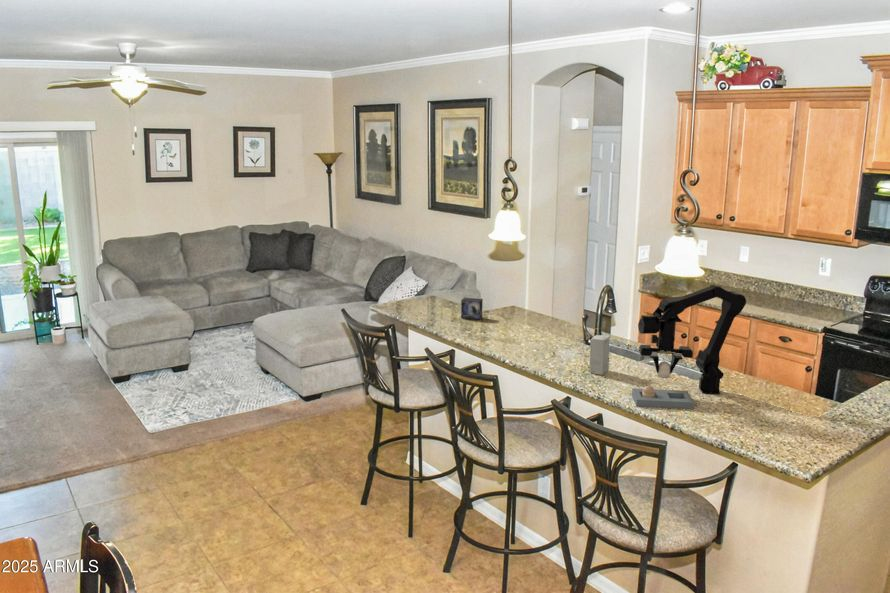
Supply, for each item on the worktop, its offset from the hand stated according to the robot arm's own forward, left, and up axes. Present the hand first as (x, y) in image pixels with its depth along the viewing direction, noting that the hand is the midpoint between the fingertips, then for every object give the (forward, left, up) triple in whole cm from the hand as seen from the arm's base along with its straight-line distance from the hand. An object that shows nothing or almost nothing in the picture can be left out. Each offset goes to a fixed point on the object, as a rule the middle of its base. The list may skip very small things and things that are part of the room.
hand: (663, 372), depth 264 cm
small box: (+82, -104, -8) cm, 133 cm away
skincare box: (+22, -22, -8) cm, 32 cm away
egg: (0, 0, -1) cm, 1 cm away
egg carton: (+2, +10, -8) cm, 13 cm away
